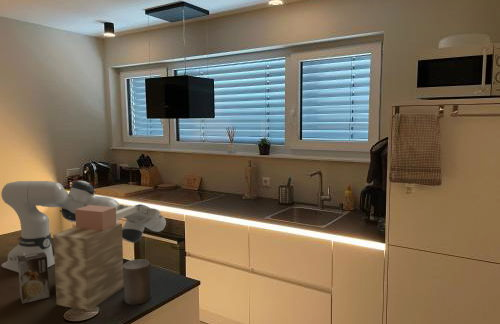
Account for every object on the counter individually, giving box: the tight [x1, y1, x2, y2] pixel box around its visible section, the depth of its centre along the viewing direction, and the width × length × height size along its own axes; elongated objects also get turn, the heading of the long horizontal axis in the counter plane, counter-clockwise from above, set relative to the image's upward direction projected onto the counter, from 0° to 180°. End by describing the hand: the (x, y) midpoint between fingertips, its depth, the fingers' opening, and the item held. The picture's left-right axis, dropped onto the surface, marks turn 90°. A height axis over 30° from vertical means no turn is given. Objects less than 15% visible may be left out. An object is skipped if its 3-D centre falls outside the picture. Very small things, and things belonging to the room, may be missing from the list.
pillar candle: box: [123, 258, 152, 306], centre depth 140 cm, size 10×10×15 cm
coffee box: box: [18, 252, 51, 305], centre depth 140 cm, size 9×6×16 cm
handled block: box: [75, 205, 137, 231], centre depth 153 cm, size 12×28×7 cm, turn 163°
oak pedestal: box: [52, 222, 124, 311], centre depth 142 cm, size 14×20×26 cm
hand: (129, 207), depth 164 cm, fingers open, 8 cm apart
